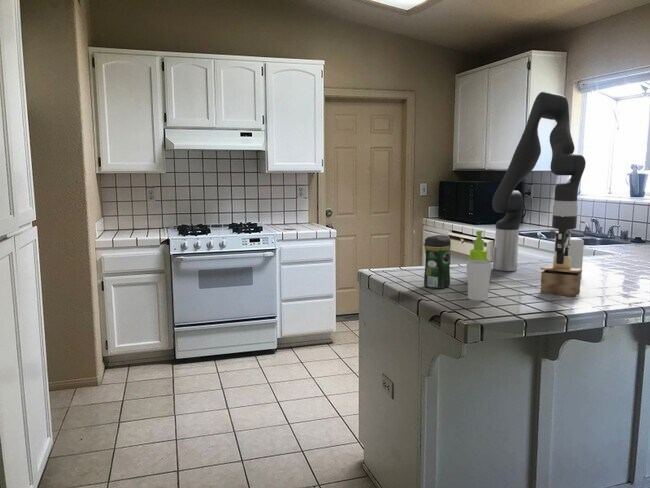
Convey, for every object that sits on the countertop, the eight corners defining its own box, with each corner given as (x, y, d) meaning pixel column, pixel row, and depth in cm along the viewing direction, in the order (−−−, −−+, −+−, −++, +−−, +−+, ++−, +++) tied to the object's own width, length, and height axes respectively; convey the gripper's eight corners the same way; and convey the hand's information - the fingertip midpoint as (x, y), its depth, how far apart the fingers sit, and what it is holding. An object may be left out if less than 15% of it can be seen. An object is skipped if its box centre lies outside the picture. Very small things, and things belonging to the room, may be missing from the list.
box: (540, 292, 182) (541, 272, 181) (545, 288, 190) (546, 268, 189) (575, 296, 176) (577, 275, 176) (579, 291, 184) (580, 271, 183)
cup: (461, 295, 178) (463, 260, 176) (485, 295, 179) (486, 259, 177) (470, 301, 170) (471, 264, 169) (494, 301, 171) (496, 263, 169)
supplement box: (582, 278, 208) (584, 239, 206) (557, 277, 210) (559, 239, 208) (576, 273, 217) (578, 237, 215) (552, 273, 218) (554, 236, 216)
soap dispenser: (486, 284, 196) (488, 230, 193) (485, 288, 189) (487, 232, 187) (469, 283, 198) (471, 229, 195) (468, 287, 191) (470, 231, 189)
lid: (540, 270, 181) (540, 267, 181) (546, 268, 189) (546, 265, 189) (578, 273, 175) (578, 271, 175) (582, 271, 183) (582, 268, 183)
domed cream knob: (551, 268, 181) (552, 256, 181) (554, 266, 186) (555, 255, 186) (569, 269, 178) (570, 257, 178) (571, 268, 183) (572, 256, 183)
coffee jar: (433, 283, 199) (435, 233, 196) (453, 286, 193) (454, 234, 191) (419, 287, 192) (421, 235, 189) (439, 290, 186) (440, 237, 184)
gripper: (556, 212, 188) (554, 258, 190) (548, 215, 176) (546, 264, 178) (580, 213, 184) (577, 260, 186) (573, 216, 172) (570, 266, 174)
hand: (561, 262), depth 182 cm, fingers open, 8 cm apart
